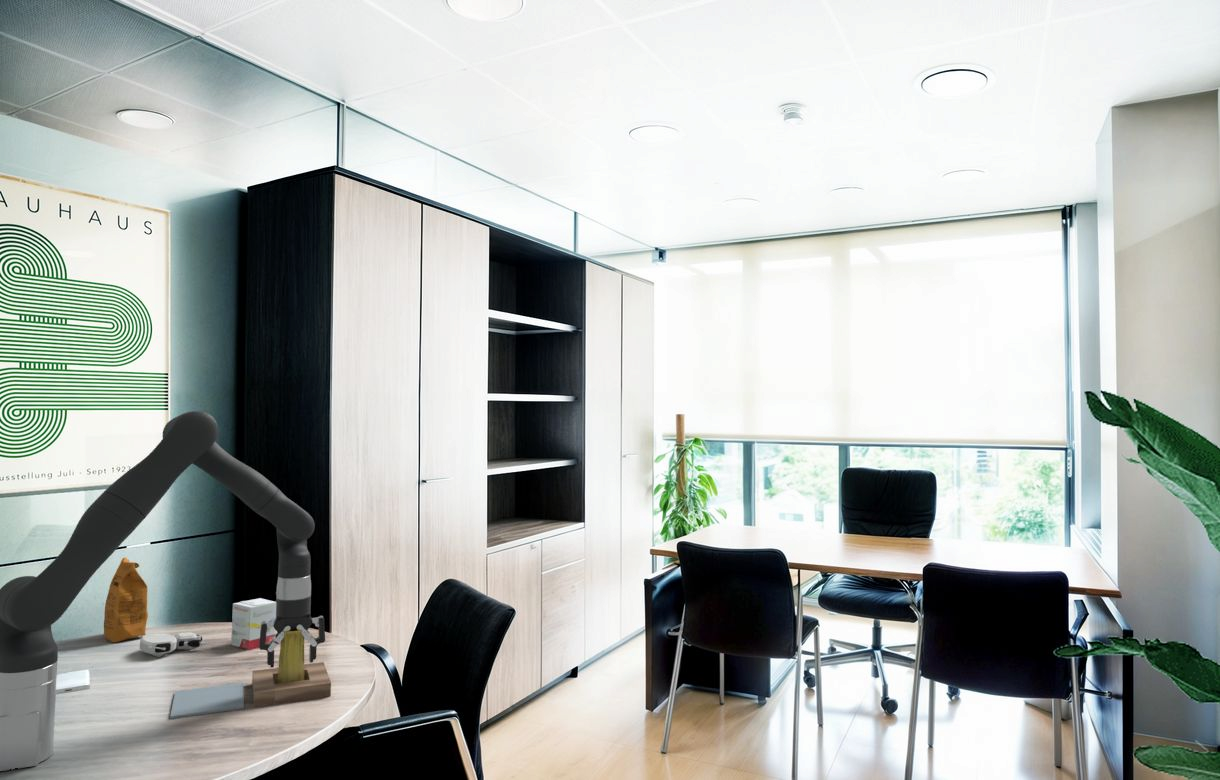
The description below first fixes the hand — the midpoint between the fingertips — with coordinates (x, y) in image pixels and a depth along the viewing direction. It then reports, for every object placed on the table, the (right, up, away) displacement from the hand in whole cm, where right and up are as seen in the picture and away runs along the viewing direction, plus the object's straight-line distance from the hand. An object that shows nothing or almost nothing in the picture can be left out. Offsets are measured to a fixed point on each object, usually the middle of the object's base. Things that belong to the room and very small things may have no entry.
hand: (291, 664), depth 175 cm
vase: (0, -6, 0) cm, 6 cm away
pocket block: (0, -6, 0) cm, 6 cm away
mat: (-15, -5, -8) cm, 18 cm away
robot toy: (-44, -7, +27) cm, 52 cm away
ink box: (-25, -7, +34) cm, 43 cm away
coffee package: (-65, -7, +38) cm, 76 cm away
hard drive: (-53, -6, +1) cm, 54 cm away
